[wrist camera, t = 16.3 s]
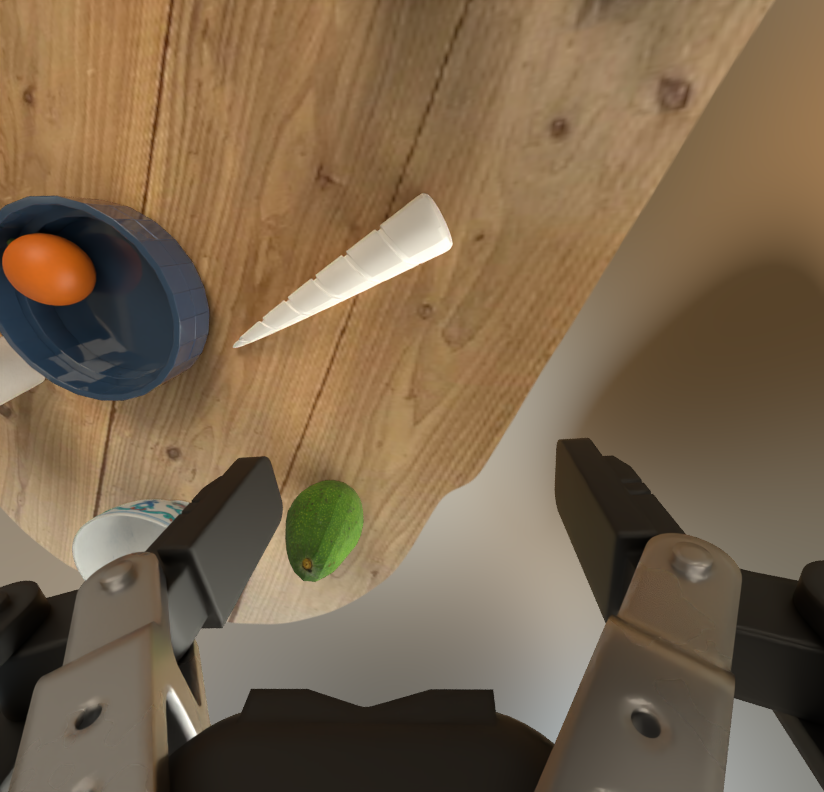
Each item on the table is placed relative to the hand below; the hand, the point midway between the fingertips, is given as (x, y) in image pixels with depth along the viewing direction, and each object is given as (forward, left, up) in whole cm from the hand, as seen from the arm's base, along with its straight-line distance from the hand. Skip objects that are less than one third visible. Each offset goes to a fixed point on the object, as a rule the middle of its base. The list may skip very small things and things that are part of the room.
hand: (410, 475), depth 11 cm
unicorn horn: (+1, -9, -28) cm, 30 cm away
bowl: (+7, -29, -28) cm, 41 cm away
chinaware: (+34, -23, -28) cm, 50 cm away
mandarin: (+5, -33, -24) cm, 41 cm away
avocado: (+24, -5, -28) cm, 37 cm away
